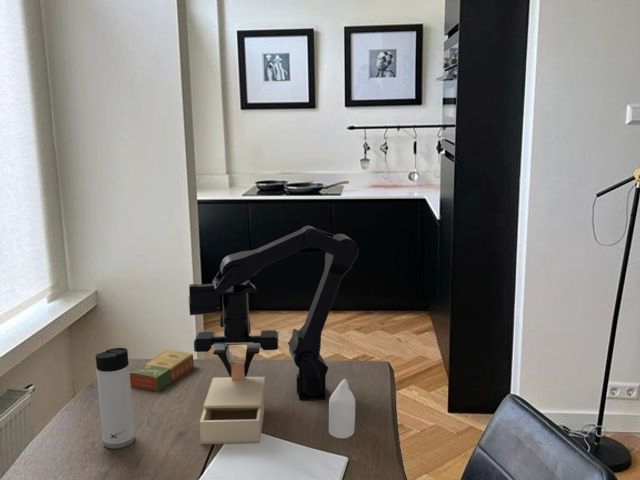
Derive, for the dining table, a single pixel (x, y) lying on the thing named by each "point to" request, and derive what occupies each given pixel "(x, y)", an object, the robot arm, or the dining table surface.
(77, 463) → the dining table surface
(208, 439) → the kraft box
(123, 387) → the travel mug
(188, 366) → the carton
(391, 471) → the dining table surface
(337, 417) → the white pointed cylinder
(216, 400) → the lid panel
